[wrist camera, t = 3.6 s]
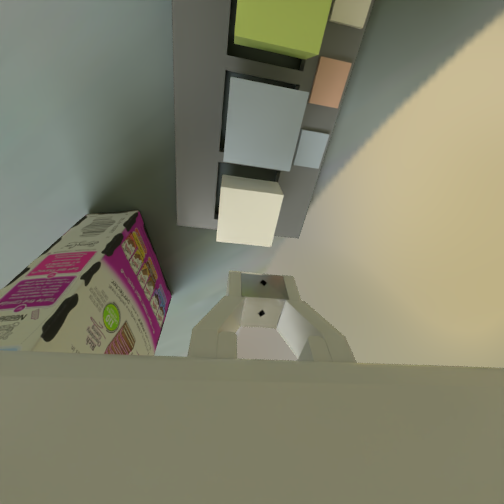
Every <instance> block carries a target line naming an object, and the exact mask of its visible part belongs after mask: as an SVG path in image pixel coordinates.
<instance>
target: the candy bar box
mask: <svg viewBox="0 0 504 504" xmlns="http://www.w3.org/2000/svg"><path fill="white" fill-rule="evenodd" d="M171 298H172V296H171V293H170V291H169V288H168V286H167V283H166V281H165V278H164V276H163V273H162V270H161V268H160V265H159V263H158V260H157V257H156V255H155V252H154V249H153V247H152V244H151V241H150V239H149V236H148V233H147V231H146V228H145V225H144V223H143V220H142V217H141V215H140V212H139V211H138V210H135V211H123V212H113V213H96V214H87V215H85V216H84V217H83V218H82V219H80V220H79V221H78V222H77V223H76V224H75V225H74V226H73V227H71V228H70V229H69V230H68V231H67V232H66V233H65V234H64V235H63V236H61V237H60V238H59V239H58V240H57V241H56V242H55V243H53V244H52V245H51V246H50V247H49V248H48V249H47V250H46V251H44V252H43V253H42V254H41V255H40V256H39V257H38V258H37V259H35V260H34V261H33V262H32V263H31V264H30V265H28V266H27V267H26V268H25V269H24V270H23V271H22V272H21V273H20V274H19V275H17V276H16V277H15V278H14V279H13V280H12V281H11V282H10V283H9V284H8V285H7V286H6V287H4V288H3V289H1V290H0V350H4V351H33V352H63V353H92V354H121V355H149V356H154V354H155V350H156V347H157V344H158V340H159V337H160V334H161V331H162V327H163V324H164V321H165V317H166V314H167V311H168V307H169V304H170V301H171Z"/></svg>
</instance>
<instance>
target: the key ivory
mask: <svg viewBox="0 0 504 504" xmlns="http://www.w3.org/2000/svg"><path fill="white" fill-rule="evenodd" d="M283 197H284V194H283V192H282V190H281V188H280V186H279V184H278V182H273V181H266V180H258V179H251V178H244V177H237V176H230V175H223V174H222V182H221V192H220V203H219V215H218V226H217V237H216V241H217V242H227V243H237V244H247V245H257V246H267V247H271V245H272V241H273V237H274V233H275V229H276V225H277V221H278V217H279V213H280V209H281V205H282V201H283Z"/></svg>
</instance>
